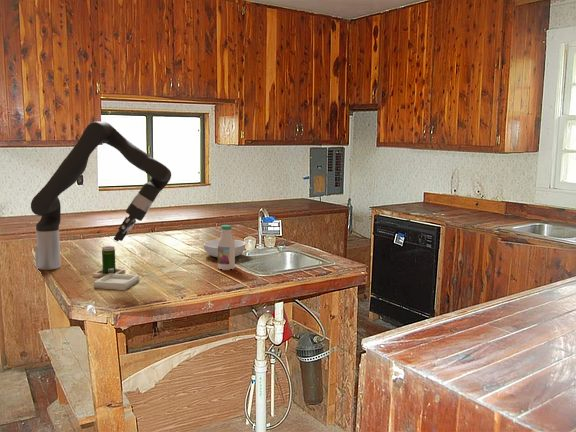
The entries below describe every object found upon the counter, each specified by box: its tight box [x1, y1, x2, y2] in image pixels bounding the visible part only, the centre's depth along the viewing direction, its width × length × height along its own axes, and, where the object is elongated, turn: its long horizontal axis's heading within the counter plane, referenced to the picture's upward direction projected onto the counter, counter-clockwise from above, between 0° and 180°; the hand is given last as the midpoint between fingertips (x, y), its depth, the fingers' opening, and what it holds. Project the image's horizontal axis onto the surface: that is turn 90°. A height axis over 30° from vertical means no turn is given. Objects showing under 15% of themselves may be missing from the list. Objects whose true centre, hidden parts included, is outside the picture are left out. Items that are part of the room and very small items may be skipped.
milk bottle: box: [217, 224, 236, 271], centre depth 248 cm, size 8×8×20 cm
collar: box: [92, 268, 126, 279], centre depth 235 cm, size 10×10×2 cm
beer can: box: [101, 245, 117, 274], centre depth 234 cm, size 5×5×12 cm
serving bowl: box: [203, 238, 247, 258], centre depth 273 cm, size 21×21×7 cm
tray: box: [93, 273, 140, 291], centre depth 221 cm, size 13×13×2 cm
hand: (117, 240), depth 224 cm, fingers open, 8 cm apart
